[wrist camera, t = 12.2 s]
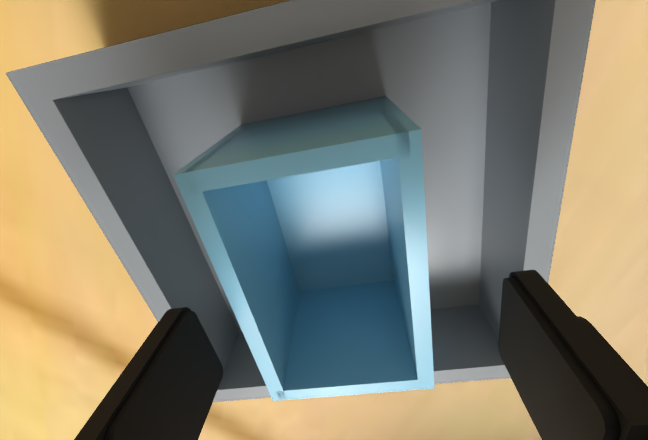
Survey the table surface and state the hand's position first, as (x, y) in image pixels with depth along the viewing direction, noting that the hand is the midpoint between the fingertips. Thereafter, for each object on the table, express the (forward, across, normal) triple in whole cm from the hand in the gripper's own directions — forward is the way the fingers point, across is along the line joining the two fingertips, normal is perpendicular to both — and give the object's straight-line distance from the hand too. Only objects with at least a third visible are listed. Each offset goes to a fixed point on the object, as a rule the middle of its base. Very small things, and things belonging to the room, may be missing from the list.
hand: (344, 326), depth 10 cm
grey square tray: (+8, +1, 0) cm, 8 cm away
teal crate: (+7, +1, 0) cm, 7 cm away
